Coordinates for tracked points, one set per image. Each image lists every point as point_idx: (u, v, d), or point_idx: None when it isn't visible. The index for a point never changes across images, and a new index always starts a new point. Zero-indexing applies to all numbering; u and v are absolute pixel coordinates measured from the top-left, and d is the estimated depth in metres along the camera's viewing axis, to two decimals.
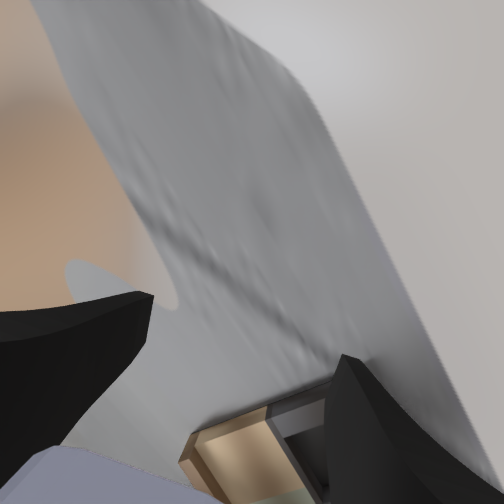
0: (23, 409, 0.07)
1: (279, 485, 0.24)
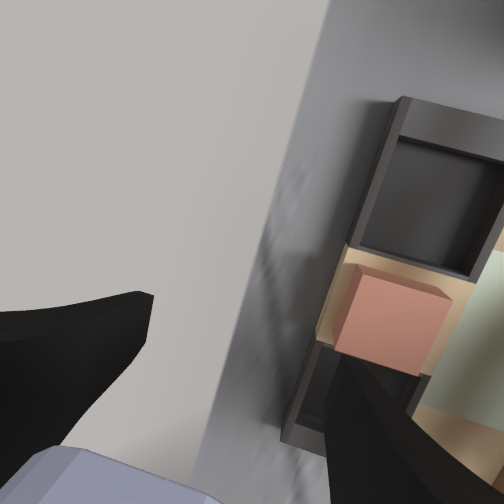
0: (23, 409, 0.07)
1: (441, 422, 0.20)
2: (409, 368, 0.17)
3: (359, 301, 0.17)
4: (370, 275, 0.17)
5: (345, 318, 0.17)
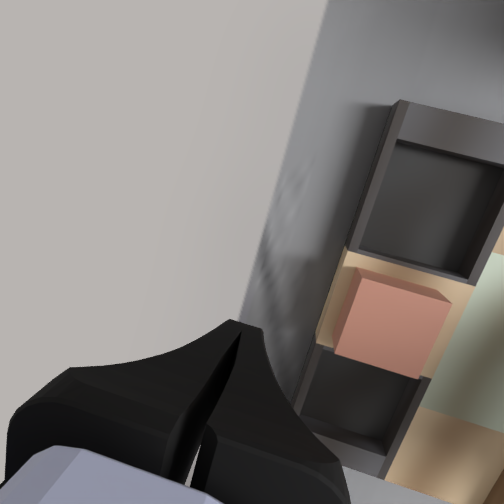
0: (180, 465, 0.07)
1: (442, 425, 0.20)
2: (409, 371, 0.17)
3: (359, 305, 0.17)
4: (369, 279, 0.17)
5: (345, 322, 0.18)
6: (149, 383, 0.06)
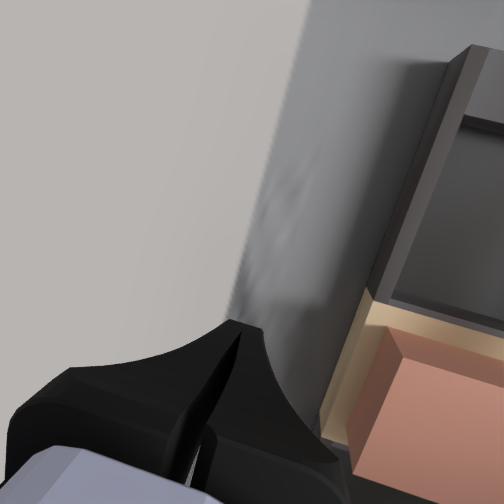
0: (180, 465, 0.07)
1: None
2: None
3: (396, 401, 0.10)
4: (415, 358, 0.10)
5: (371, 424, 0.10)
6: (149, 383, 0.06)
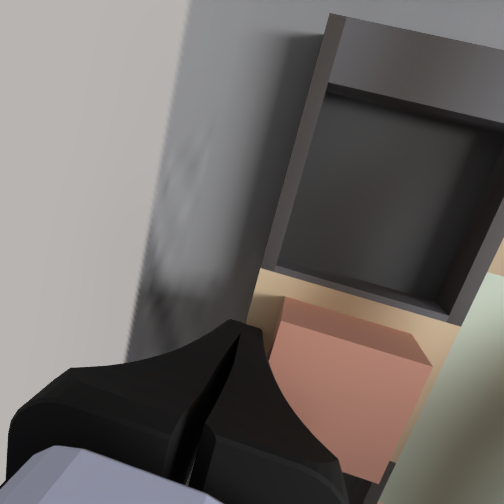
0: (181, 466, 0.07)
1: None
2: (364, 471, 0.11)
3: (278, 364, 0.10)
4: (294, 322, 0.10)
5: None
6: (151, 383, 0.06)
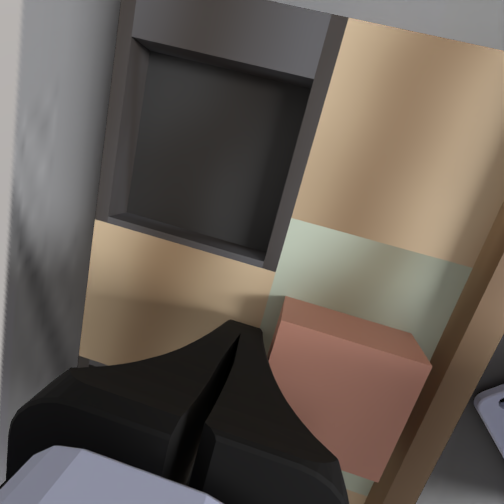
0: (181, 466, 0.07)
1: None
2: (364, 470, 0.11)
3: (279, 363, 0.10)
4: (294, 321, 0.10)
5: None
6: (151, 383, 0.06)
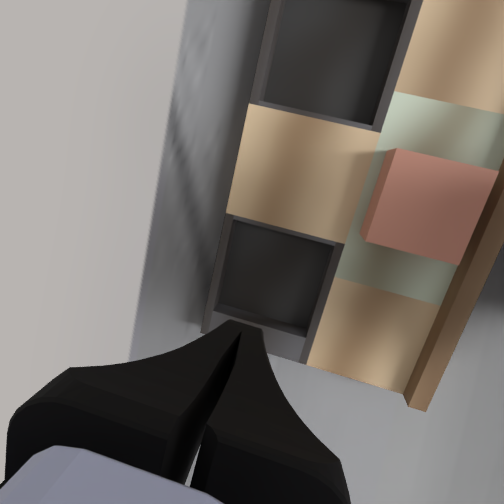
0: (180, 465, 0.07)
1: (359, 296, 0.19)
2: (449, 256, 0.16)
3: (393, 181, 0.15)
4: (404, 150, 0.15)
5: (376, 204, 0.16)
6: (150, 382, 0.06)
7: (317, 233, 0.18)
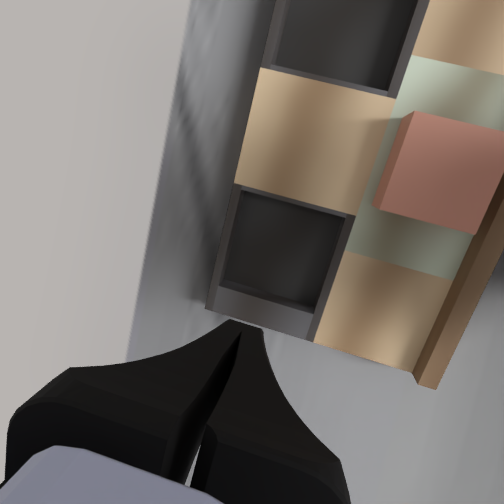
0: (180, 465, 0.07)
1: (370, 271, 0.18)
2: (465, 225, 0.15)
3: (410, 145, 0.15)
4: (422, 113, 0.15)
5: (392, 170, 0.15)
6: (149, 383, 0.06)
7: (328, 204, 0.18)
